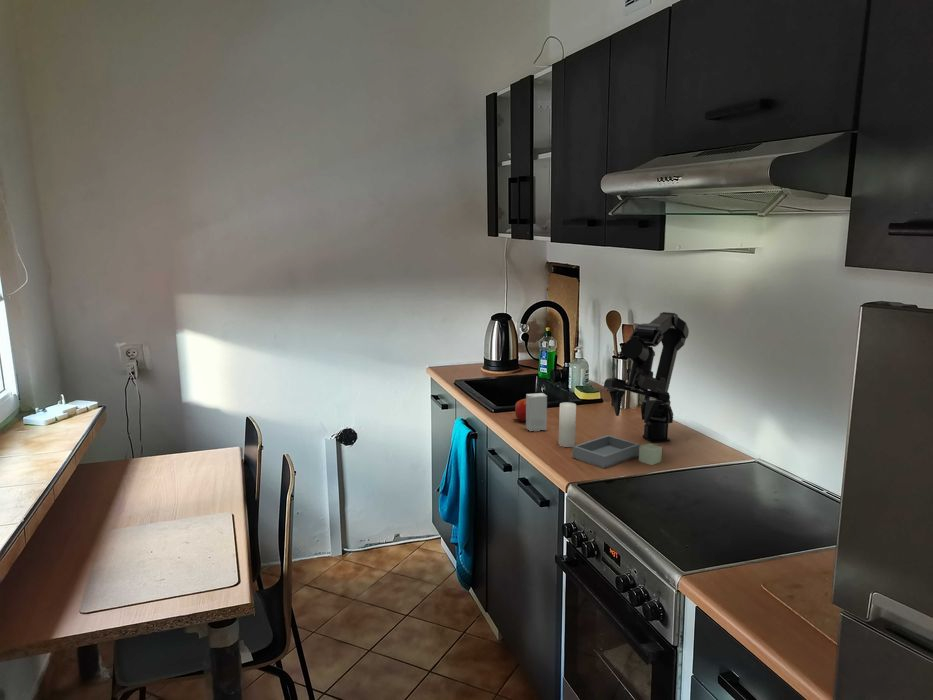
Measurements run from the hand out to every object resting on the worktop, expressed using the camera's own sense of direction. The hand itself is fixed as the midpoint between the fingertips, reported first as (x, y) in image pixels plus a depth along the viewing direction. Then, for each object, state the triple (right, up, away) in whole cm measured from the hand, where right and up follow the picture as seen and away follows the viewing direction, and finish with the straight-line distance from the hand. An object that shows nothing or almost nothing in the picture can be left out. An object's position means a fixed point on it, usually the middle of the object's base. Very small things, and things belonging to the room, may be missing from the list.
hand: (631, 419), depth 197 cm
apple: (-27, -5, +40) cm, 48 cm away
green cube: (+6, -12, +1) cm, 14 cm away
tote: (-6, -11, +5) cm, 14 cm away
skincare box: (-24, -7, +30) cm, 39 cm away
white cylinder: (-16, -9, +15) cm, 24 cm away
